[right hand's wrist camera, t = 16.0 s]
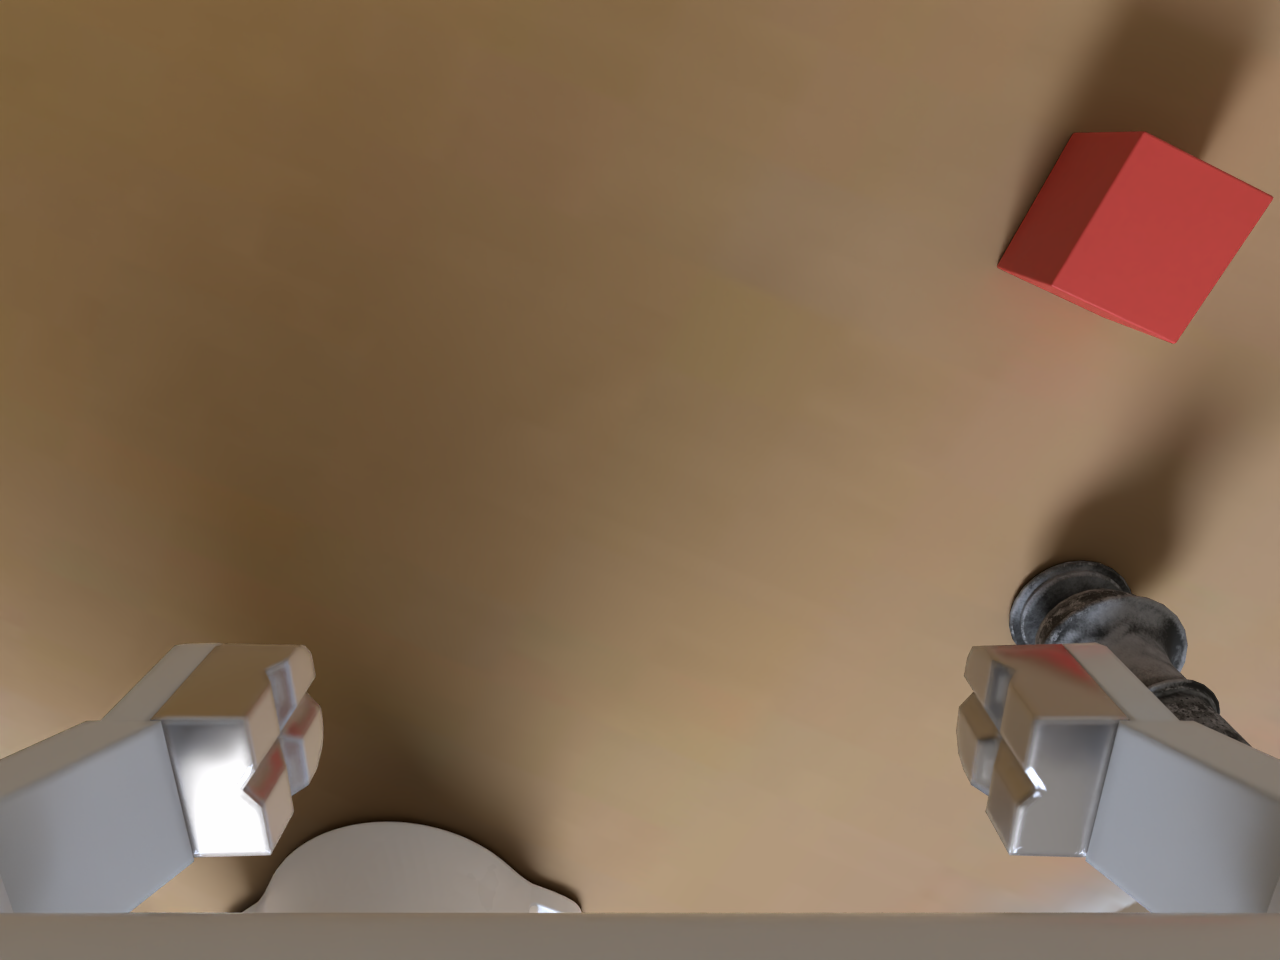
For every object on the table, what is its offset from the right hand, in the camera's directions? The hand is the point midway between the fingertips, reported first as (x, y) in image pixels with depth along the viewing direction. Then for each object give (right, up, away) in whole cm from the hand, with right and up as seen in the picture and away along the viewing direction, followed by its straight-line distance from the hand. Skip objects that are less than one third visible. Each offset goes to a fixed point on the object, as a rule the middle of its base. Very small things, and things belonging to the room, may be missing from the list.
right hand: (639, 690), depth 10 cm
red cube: (+17, +12, +20) cm, 29 cm away
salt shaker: (+19, -3, +26) cm, 33 cm away
